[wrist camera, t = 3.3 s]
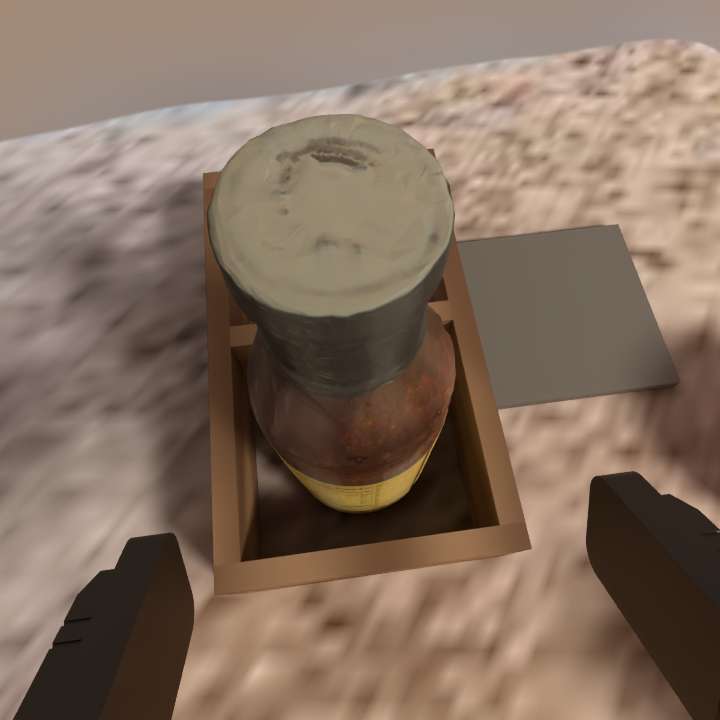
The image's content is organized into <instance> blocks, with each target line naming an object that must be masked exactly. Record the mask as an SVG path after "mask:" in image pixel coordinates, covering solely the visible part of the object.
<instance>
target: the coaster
mask: <svg viewBox="0 0 720 720" xmlns="http://www.w3.org/2000/svg"><path fill="white" fill-rule="evenodd" d="M457 247H458V251H459V255H460V259H461V263H462V267H463V271H464V275H465V279H466V283H467V287H468V291H469V295H470V299H471V304H472V308H473V312H474V316H475V320H476V324H477V328H478V332H479V336H480V340H481V344H482V348H483V352H484V356H485V360H486V365H487V369H488V373H489V377H490V381H491V385H492V389H493V393H494V397H495V401H496V405H497V409H505V408H512V407H520V406H527V405H535V404H543V403H550V402H558V401H565V400H573V399H581V398H588V397H596V396H603V395H611V394H619V393H626V392H634V391H641V390H649V389H657V388H664V387H672V386H675V385H677V384H678V383H680V381H679V378H678V375H677V373H676V370H675V368H674V365H673V363H672V360H671V358H670V355H669V353H668V350H667V347H666V345H665V342H664V340H663V337H662V335H661V332H660V330H659V327H658V325H657V322H656V319H655V317H654V314H653V312H652V309H651V307H650V304H649V302H648V299H647V297H646V294H645V291H644V289H643V286H642V284H641V281H640V279H639V276H638V274H637V271H636V269H635V266H634V263H633V261H632V258H631V256H630V253H629V251H628V248H627V246H626V243H625V241H624V238H623V235H622V233H621V230H620V228H619V225H618V224H616V225H608V226H599V227H590V228H582V229H573V230H564V231H556V232H547V233H538V234H530V235H521V236H512V237H504V238H495V239H486V240H478V241H469V242H460V243H457Z"/></svg>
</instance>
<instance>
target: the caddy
mask: <svg viewBox="0 0 720 720" xmlns="http://www.w3.org/2000/svg"><path fill="white" fill-rule="evenodd" d="M427 150H428V151H429V152H430V153H431V154H432V155H433V156H434V158H435V159H436V157H435V153H434V149H427ZM220 173H221V171H220V172H211V173H203V185H204V223H205V261H206V298H207V336H208V373H209V411H210V448H211V486H212V524H213V561H214V595H225V594H244V593H251V592H258V591H265V590H272V589H279V588H286V587H292V586H299V585H306V584H313V583H320V582H327V581H334V580H341V579H347V578H354V577H361V576H368V575H375V574H382V573H389V572H396V571H402V570H409V569H416V568H423V567H430V566H437V565H444V564H451V563H457V562H464V561H471V560H478V559H485V558H492V557H499V556H504V555H508V554H512V553H516V552H520V551H525V550H529V549H532V548H531V544H530V539H529V535H528V531H527V527H526V523H525V519H524V515H523V511H522V507H521V503H520V499H519V495H518V491H517V487H516V483H515V478H514V474H513V470H512V466H511V462H510V458H509V454H508V450H507V446H506V442H505V438H504V434H503V430H502V426H501V422H500V417H499V413H498V409H497V405H496V401H495V397H494V393H493V389H492V385H491V381H490V377H489V373H488V369H487V365H486V360H485V356H484V352H483V348H482V344H481V340H480V336H479V332H478V328H477V324H476V320H475V316H474V312H473V308H472V304H471V299H470V295H469V291H468V287H467V283H466V279H465V275H464V271H463V267H462V263H461V259H460V255H459V251H458V247H457V243H456V238H455V234H454V230H453V238H452V242H451V248H450V251H449V256H448V259H447V262H446V266H445V269H444V273H443V276H442V279H441V281H440V283H439V285H438V287H437V289H436V291H435V293H434V294H433V296H432V297H431V298H430V300H429V301H428V305H429V306H430V307H431V308H433V309H434V311H435V312H436V313H437V314H439V315H440V316H441V319H442V324H443V326H444V328H445V330H446V331H447V332H448V333H449V335H450V336H451V339H452V342H453V347H454V354H455V369H456V376H455V382H454V390H453V393H452V395H451V400H450V404H449V406H448V410H449V415H450V420H451V425H452V430H453V434H454V439H455V444H456V449H457V454H458V458H459V463H460V468H461V473H462V478H463V482H464V487H465V492H466V497H467V502H468V506H469V511H470V516H471V521H472V526H473V529H471V530H464V531H457V532H450V533H442V534H435V535H428V536H421V537H414V538H407V539H400V540H393V541H386V542H379V543H372V544H365V545H358V546H351V547H344V548H337V549H330V550H323V551H316V552H309V553H302V554H295V555H288V556H281V557H274V558H267V559H262V547H261V530H260V513H259V497H258V480H257V463H256V447H255V430H254V413H253V409H252V407H251V402H250V397H249V391H248V384H247V366H248V360H249V355H250V350H251V347H252V344H253V341H254V338H255V335H256V332H257V329H258V327H257V325H256V324H248V317H247V316H246V315H245V314H244V312H243V311H242V310H241V309H240V307H239V306H238V305H237V303H236V302H235V300H234V299H233V297H232V296H231V294H230V292H229V290H228V288H227V286H226V284H225V281H224V278H223V276H222V273H221V271H220V268H219V265H218V263H217V261H216V260H215V256H214V253H213V250H212V247H211V244H210V241H209V234H208V227H207V210H208V207H209V204H210V202H211V198H212V193H213V190H214V188H215V186H216V183H217V180H218V176H219V175H220Z"/></svg>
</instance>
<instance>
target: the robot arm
mask: <svg viewBox="0 0 720 720" xmlns="http://www.w3.org/2000/svg"><path fill="white" fill-rule="evenodd" d="M586 547H587V552H588V556H589V560H590V563H591V565H592V568H593V570H594V572H595V573H596V575H597V577H598V578H599V580H600V581H601V583H602V584H603V586H604V587H605V589H606V590H607V592H608V593H609V595H610V596H611V597H612V599H613V600H614V602H615V603H616V605H617V606H618V608H619V609H620V611H621V612H622V614H623V615H624V617H625V618H626V620H627V621H628V623H629V624H630V626H631V627H632V629H633V630H634V632H635V633H636V635H637V636H638V638H639V639H640V641H641V642H642V644H643V645H644V647H645V648H646V650H647V651H648V653H649V654H650V656H651V657H652V659H653V660H654V662H655V663H656V665H657V666H658V668H659V669H660V671H661V672H662V674H663V675H664V677H665V678H666V680H667V681H668V683H669V684H670V686H671V687H672V689H673V690H674V692H675V693H676V695H677V696H678V698H679V699H680V701H681V702H682V704H683V705H684V707H685V708H686V710H687V711H688V713H689V714H690V716H691V717H692V719H693V720H720V529H719V528H717V527H716V526H715V525H714V524H713V523H712V522H711V521H710V520H709V519H708V518H707V517H706V516H705V515H704V514H702V513H701V512H700V511H699V510H698V509H696V508H694V507H692V506H691V505H689V504H687V503H685V502H683V501H681V500H680V499H678V498H676V497H674V496H672V495H670V494H666V495H661V494H660V493H659V492H658V491H657V490H655V489H654V488H653V487H652V486H651V485H650V484H649V483H648V482H647V481H646V480H645V479H644V478H643V477H642V476H641V475H640V474H639V473H637V472H634V471H631V472H624V473H617V474H609V475H602V476H596V477H594V478H593V479H592V481H591V484H590V494H589V507H588V520H587V533H586ZM193 625H194V600H193V594H192V590H191V587H190V583H189V580H188V576H187V573H186V569H185V565H184V562H183V558H182V555H181V551H180V548H179V544H178V541H177V538H176V536H175V535H174V534H173V533H164V534H156V535H149V536H142V537H134V538H130V539H129V540H128V541H127V543H126V545H125V547H124V549H123V551H122V554H121V556H120V558H119V560H118V562H117V565H116V567H115V569H111V570H104V571H100V572H99V573H98V574H97V575H96V576H95V577H94V578H93V579H92V580H91V581H90V582H89V583H88V584H87V585H86V587H85V588H84V589H83V590H82V591H81V592H80V593H79V594H78V595H77V597H76V599H75V601H74V602H73V604H72V606H71V608H70V610H69V612H68V614H67V616H66V618H65V620H64V626H61V628H60V630H59V632H58V633H57V635H56V637H55V639H54V641H53V643H52V644H53V647H52V649H49V651H48V653H47V655H46V657H45V659H44V661H43V663H42V665H41V666H40V668H39V670H38V672H37V674H36V676H35V678H34V680H33V682H32V684H31V686H30V688H29V690H28V692H27V694H26V696H25V697H24V699H23V701H22V703H21V705H20V707H19V709H18V711H17V713H16V715H15V717H14V719H13V720H171V718H172V714H173V710H174V706H175V702H176V697H177V693H178V689H179V685H180V681H181V677H182V672H183V668H184V664H185V660H186V656H187V652H188V648H189V643H190V639H191V635H192V631H193Z"/></svg>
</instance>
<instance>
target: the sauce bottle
mask: <svg viewBox="0 0 720 720" xmlns="http://www.w3.org/2000/svg"><path fill="white" fill-rule="evenodd" d="M454 219H455V212H454V203H453V200H452V196H451V191H450V185H449V183H448V182H447V180H446V178H445V176H444V174H443V172H442V170H441V168H440V165H439V163H438V161H437V160H436V159H435V158H434V156H433V155H432V154H431V153H430V152H429V151H428V150H427V149H426V148H425V147H424V146H423V145H422V144H420V143H419V142H418V141H416V140H415V139H414V138H413V137H411V136H410V135H409V134H407V133H406V132H404V131H403V130H402V129H400V128H398V127H395V126H393V125H390V124H387V123H385V122H382V121H379V120H376V119H373V118H367V117H364V116H361V115H353V114H341V115H322V116H314V117H308V118H305V119H301V120H298V121H295V122H291V123H287V124H284V125H280V126H276V127H272V128H270V129H269V130H267V131H266V132H264V133H263V134H261V135H259V136H257V137H255V138H253V139H250V140H249V141H248V142H247V143H246V144H245V145H244V146H242V147H241V148H240V149H239V150H238V151H237V152H236V153H235V154H234V155H233V156H232V157H231V159H230V160H229V161H228V163H227V164H226V165H225V167H224V168H223V169H222V171H221V173H220V175H219V176H218V180H217V183H216V186H215V188H214V190H213V193H212V198H211V202H210V204H209V207H208V210H207V227H208V234H209V241H210V244H211V247H212V250H213V253H214V256H215V260H216V261H217V263H218V265H219V268H220V271H221V273H222V276H223V278H224V281H225V284H226V286H227V288H228V290H229V292H230V294H231V296H232V297H233V299H234V300H235V302H236V303H237V305H238V306H239V307H240V309H241V310H242V311H243V312H244V314H245V315H246V316H247V317H249V318H250V319H251V320H252V321H253V322H254V323H255V324H256V325H257V327H258V329H257V332H256V335H255V338H254V341H253V344H252V347H251V350H250V355H249V360H248V366H247V384H248V391H249V397H250V402H251V407H252V409H253V412H254V414H255V417H256V420H257V422H258V424H259V426H260V428H261V430H262V431H263V433H264V435H265V437H266V439H267V440H268V441H269V443H270V444H271V445H272V447H273V448H274V449H275V451H276V452H277V453H278V455H279V456H280V457H281V459H282V460H283V461H284V463H285V464H286V466H287V467H288V468H289V469H290V470H291V471H292V473H293V474H294V475H295V476H296V477H297V478H298V479H299V480H300V481H301V482H302V483H303V485H304V486H305V487H306V488H307V490H308V491H309V492H310V493H311V494H312V495H313V496H314V497H315V498H316V499H318V500H319V501H320V502H321V503H323V504H324V505H326V506H328V507H330V508H332V509H334V510H336V511H339V512H345V513H352V514H371V513H374V512H375V511H379V510H382V509H384V508H387V507H389V506H391V505H392V504H394V503H396V502H397V501H399V500H400V499H401V498H402V497H404V496H405V495H406V494H407V493H408V492H409V490H410V488H411V486H412V484H414V483H415V482H416V481H417V479H418V477H419V475H420V473H421V472H422V470H423V468H424V465H425V463H426V461H427V459H428V457H429V455H430V453H431V451H432V448H433V446H434V444H435V442H436V440H437V438H438V436H439V434H440V432H441V429H442V427H443V425H444V422H445V418H446V415H447V411H448V406H449V404H450V400H451V395H452V393H453V390H454V382H455V376H456V369H455V354H454V347H453V342H452V339H451V336H450V335H449V333H448V332H447V331H446V330H445V328H444V326H443V324H442V319H441V316H440V315H439V314H437V313H436V312H435V311H434V309H433V308H431V307H430V306H429V305H428V301H429V300H430V298H431V297H432V296H433V294H434V293H435V291H436V289H437V287H438V285H439V283H440V281H441V279H442V276H443V273H444V269H445V266H446V262H447V259H448V256H449V251H450V248H451V242H452V238H453V230H454Z"/></svg>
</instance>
